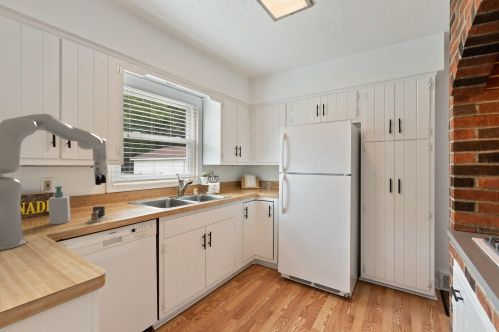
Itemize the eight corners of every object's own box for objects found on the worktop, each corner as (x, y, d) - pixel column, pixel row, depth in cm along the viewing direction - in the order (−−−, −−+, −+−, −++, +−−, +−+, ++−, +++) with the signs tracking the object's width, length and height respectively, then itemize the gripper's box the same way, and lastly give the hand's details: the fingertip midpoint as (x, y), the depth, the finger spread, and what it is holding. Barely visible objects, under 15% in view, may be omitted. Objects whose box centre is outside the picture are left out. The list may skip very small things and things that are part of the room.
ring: (93, 216, 151) (92, 207, 151) (94, 215, 153) (94, 206, 153) (103, 215, 153) (103, 206, 152) (104, 215, 155) (104, 206, 154)
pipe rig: (87, 222, 145) (87, 212, 145) (94, 218, 155) (94, 208, 154) (100, 221, 147) (100, 212, 146) (106, 217, 156) (106, 208, 156)
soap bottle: (67, 219, 153) (66, 185, 152) (73, 221, 148) (71, 186, 146) (47, 223, 145) (45, 186, 143) (52, 225, 139) (50, 188, 138)
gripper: (101, 157, 148) (102, 185, 149) (110, 157, 165) (111, 182, 166) (87, 157, 146) (88, 186, 147) (98, 157, 163) (99, 182, 164)
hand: (100, 183), depth 157 cm, fingers open, 7 cm apart
